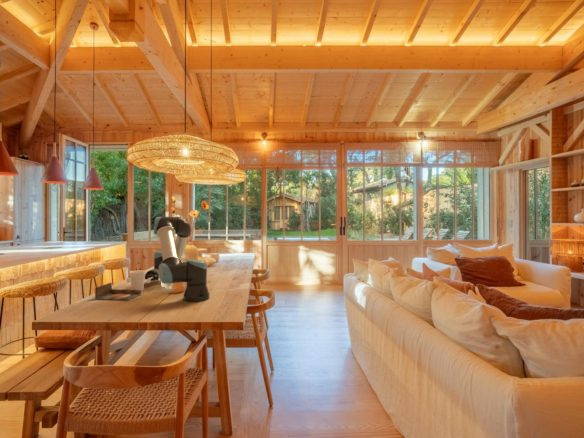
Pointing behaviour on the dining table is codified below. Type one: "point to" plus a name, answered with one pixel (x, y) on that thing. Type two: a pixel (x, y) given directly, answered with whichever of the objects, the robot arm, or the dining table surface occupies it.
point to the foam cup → (137, 279)
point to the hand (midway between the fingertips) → (137, 280)
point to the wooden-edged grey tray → (115, 293)
